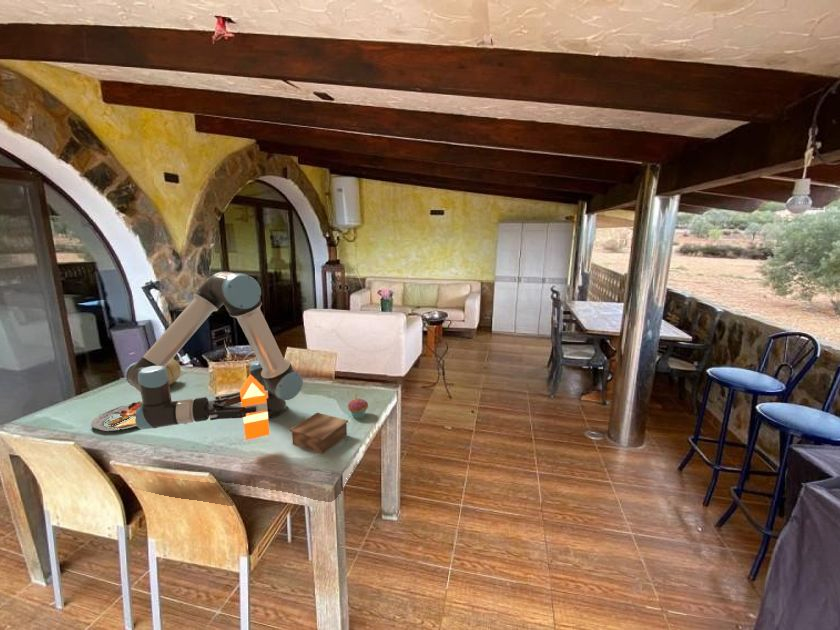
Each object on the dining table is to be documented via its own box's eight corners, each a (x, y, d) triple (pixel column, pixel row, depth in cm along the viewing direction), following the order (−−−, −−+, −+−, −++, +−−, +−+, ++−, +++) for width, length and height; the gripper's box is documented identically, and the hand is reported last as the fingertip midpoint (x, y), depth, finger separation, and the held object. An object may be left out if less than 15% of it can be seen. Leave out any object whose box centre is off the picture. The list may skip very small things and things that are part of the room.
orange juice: (267, 423, 139) (262, 371, 135) (270, 434, 132) (265, 380, 127) (243, 428, 136) (237, 375, 132) (245, 440, 128) (239, 384, 124)
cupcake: (364, 421, 158) (363, 394, 156) (344, 419, 160) (343, 392, 158) (370, 412, 167) (370, 386, 164) (352, 410, 168) (351, 384, 166)
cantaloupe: (186, 385, 194) (182, 356, 191) (152, 393, 183) (148, 363, 180) (176, 377, 204) (172, 350, 200) (143, 385, 193) (139, 357, 190)
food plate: (142, 401, 174) (140, 394, 174) (180, 410, 167) (178, 402, 166) (78, 428, 152) (77, 420, 151) (119, 440, 144) (118, 431, 143)
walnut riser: (290, 444, 141) (289, 429, 139) (317, 426, 154) (317, 412, 153) (323, 454, 134) (322, 439, 133) (348, 434, 148) (348, 420, 146)
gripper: (201, 406, 136) (269, 397, 144) (188, 437, 116) (267, 425, 124) (199, 386, 135) (267, 378, 142) (185, 414, 115) (265, 403, 122)
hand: (267, 400), depth 133 cm, fingers closed on orange juice, 9 cm apart
